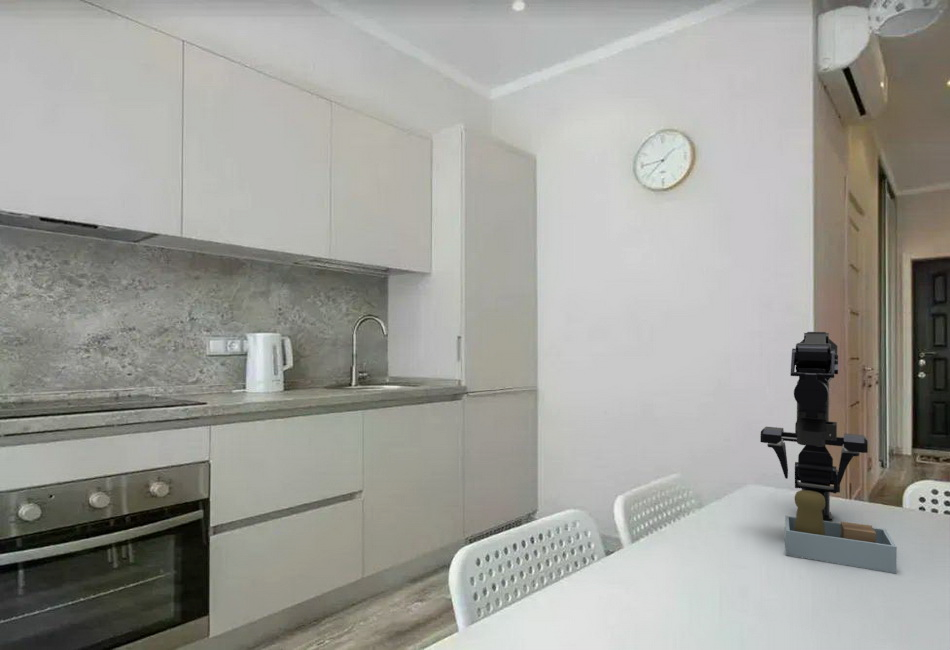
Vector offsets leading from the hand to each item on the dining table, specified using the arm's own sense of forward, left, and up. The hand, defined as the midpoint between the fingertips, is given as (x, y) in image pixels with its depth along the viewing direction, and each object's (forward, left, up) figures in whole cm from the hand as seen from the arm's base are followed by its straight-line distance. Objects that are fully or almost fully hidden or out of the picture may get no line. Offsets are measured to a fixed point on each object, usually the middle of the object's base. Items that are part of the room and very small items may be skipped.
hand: (811, 481), depth 121 cm
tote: (+6, +4, -12) cm, 14 cm away
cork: (+8, -1, -12) cm, 14 cm away
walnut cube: (+6, +7, -11) cm, 15 cm away
